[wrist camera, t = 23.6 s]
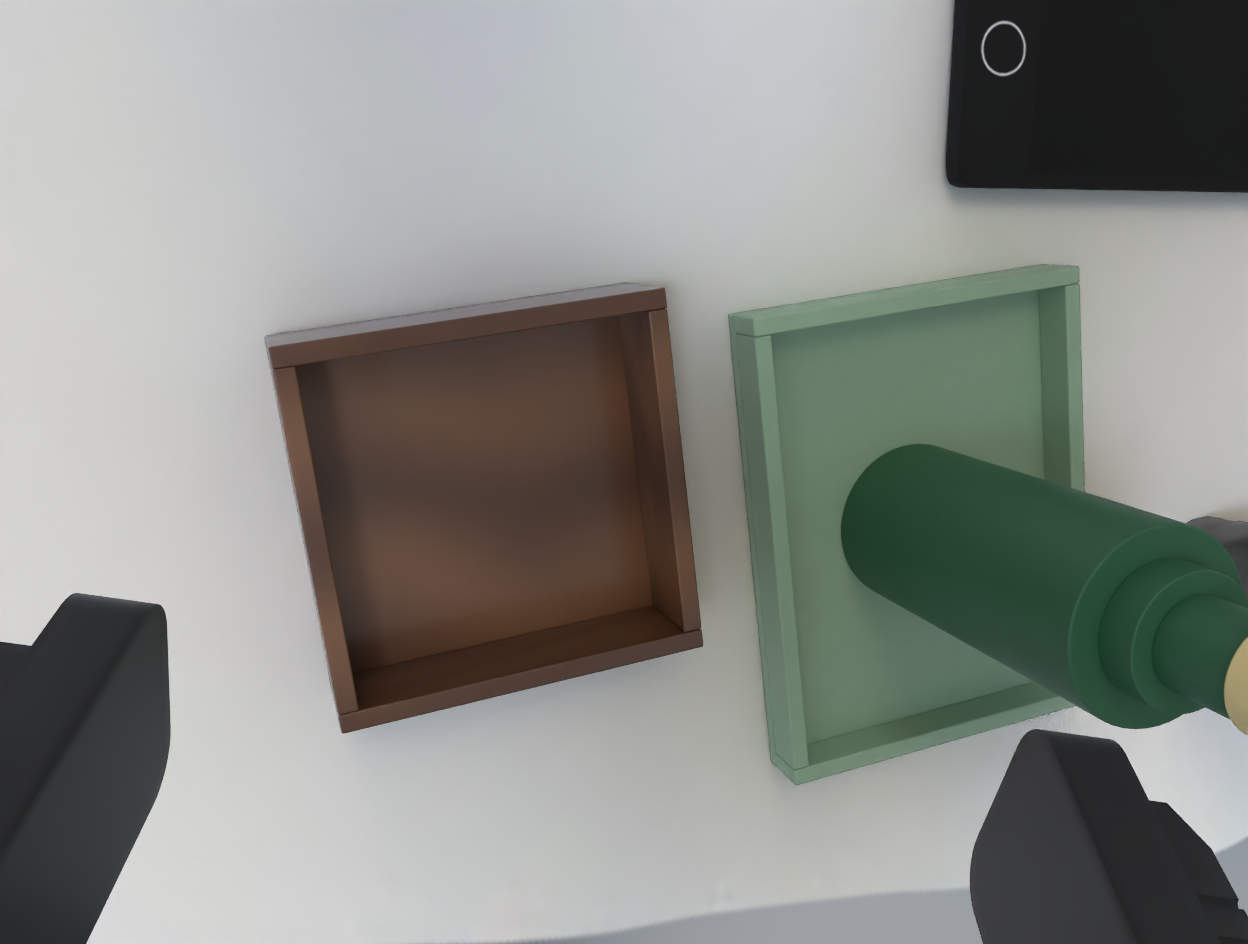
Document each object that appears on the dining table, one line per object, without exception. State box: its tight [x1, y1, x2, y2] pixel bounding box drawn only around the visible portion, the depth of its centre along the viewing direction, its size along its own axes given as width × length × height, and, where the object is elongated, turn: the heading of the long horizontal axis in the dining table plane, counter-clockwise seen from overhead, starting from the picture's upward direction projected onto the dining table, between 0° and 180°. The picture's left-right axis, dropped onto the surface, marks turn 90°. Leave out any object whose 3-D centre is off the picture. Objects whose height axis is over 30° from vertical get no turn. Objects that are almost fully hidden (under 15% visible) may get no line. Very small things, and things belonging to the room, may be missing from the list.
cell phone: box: [946, 0, 1248, 193], centre depth 42 cm, size 9×18×1 cm, turn 89°
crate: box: [265, 283, 703, 733], centre depth 36 cm, size 11×11×4 cm
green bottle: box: [841, 444, 1248, 735], centre depth 34 cm, size 6×6×17 cm
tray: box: [728, 264, 1085, 785], centre depth 41 cm, size 16×12×2 cm
